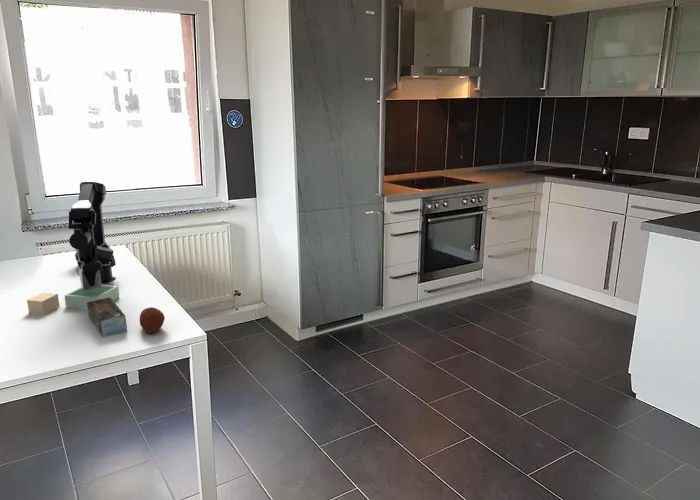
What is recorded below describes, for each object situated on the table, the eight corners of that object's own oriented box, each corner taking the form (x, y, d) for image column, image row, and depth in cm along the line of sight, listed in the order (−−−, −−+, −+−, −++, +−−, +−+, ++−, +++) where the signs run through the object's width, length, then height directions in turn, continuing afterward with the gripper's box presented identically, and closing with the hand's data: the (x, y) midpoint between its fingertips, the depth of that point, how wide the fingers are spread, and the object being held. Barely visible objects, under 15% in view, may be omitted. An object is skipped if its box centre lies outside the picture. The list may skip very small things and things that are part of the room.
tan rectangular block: (45, 305, 192) (43, 292, 190) (59, 307, 190) (57, 293, 189) (29, 313, 184) (26, 300, 183) (44, 315, 183) (42, 301, 182)
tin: (81, 285, 194) (78, 267, 192) (99, 282, 197) (96, 264, 195) (83, 290, 189) (81, 271, 187) (102, 287, 192) (99, 269, 190)
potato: (158, 321, 179) (156, 299, 177) (171, 333, 170) (169, 310, 168) (135, 327, 174) (133, 304, 172) (146, 339, 166) (144, 315, 163)
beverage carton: (101, 338, 166) (99, 319, 165) (88, 318, 181) (85, 300, 179) (128, 332, 171) (125, 313, 169) (112, 313, 186) (110, 295, 184)
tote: (89, 294, 202) (87, 283, 200) (119, 297, 199) (118, 286, 198) (66, 307, 190) (64, 295, 189) (97, 310, 188) (96, 298, 186)
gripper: (115, 244, 185) (120, 286, 190) (105, 233, 200) (110, 272, 204) (80, 249, 179) (85, 292, 184) (72, 237, 194) (77, 277, 199)
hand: (91, 283), depth 193 cm, fingers closed on tin, 6 cm apart
